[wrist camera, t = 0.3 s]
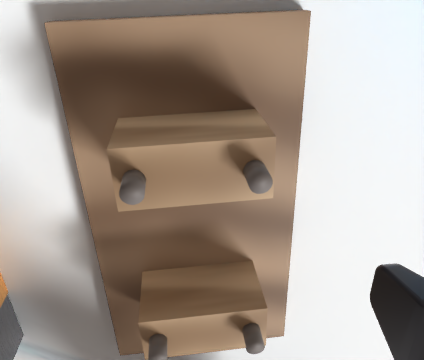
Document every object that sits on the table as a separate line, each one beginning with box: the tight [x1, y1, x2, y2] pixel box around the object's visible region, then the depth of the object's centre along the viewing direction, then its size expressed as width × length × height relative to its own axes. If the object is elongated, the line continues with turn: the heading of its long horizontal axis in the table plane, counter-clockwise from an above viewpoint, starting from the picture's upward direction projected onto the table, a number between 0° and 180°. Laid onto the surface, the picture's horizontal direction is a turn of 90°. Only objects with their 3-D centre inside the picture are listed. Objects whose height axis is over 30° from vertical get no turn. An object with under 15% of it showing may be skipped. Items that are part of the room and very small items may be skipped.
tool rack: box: [44, 10, 311, 360], centre depth 20 cm, size 22×12×6 cm, turn 2°
